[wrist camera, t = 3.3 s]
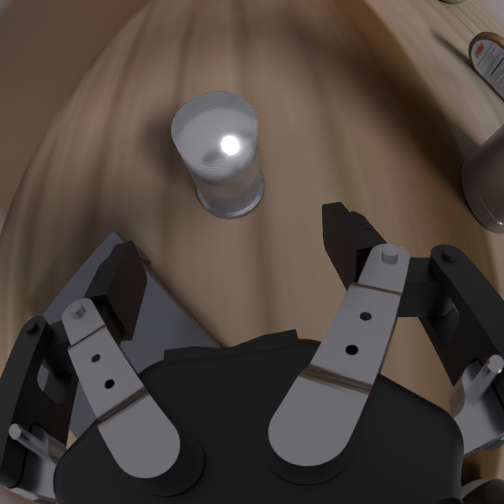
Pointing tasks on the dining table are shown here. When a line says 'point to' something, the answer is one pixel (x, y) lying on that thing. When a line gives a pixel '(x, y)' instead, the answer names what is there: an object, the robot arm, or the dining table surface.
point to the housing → (221, 152)
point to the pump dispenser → (483, 492)
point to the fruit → (454, 1)
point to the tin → (489, 59)
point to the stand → (146, 332)
